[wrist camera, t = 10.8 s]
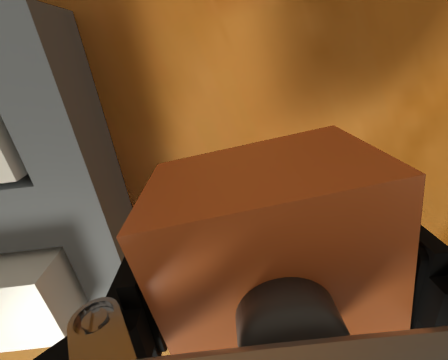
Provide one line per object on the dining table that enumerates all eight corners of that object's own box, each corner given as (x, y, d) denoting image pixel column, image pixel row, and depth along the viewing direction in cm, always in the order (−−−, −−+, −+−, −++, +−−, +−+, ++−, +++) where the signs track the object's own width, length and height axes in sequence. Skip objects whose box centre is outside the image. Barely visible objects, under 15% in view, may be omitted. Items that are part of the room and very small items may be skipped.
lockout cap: (333, 125, 10) (489, 208, 5) (340, 265, 13) (441, 427, 7) (157, 163, 11) (89, 285, 5) (201, 291, 14) (190, 464, 8)
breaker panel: (72, 11, 14) (22, -4, 10) (155, 285, 23) (145, 330, 19) (-152, 38, 14) (-280, 33, 10) (16, 301, 23) (-21, 349, 19)
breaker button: (63, 246, 17) (34, 284, 14) (89, 302, 19) (69, 344, 16) (-17, 255, 17) (-61, 295, 14) (19, 310, 19) (-13, 354, 16)
